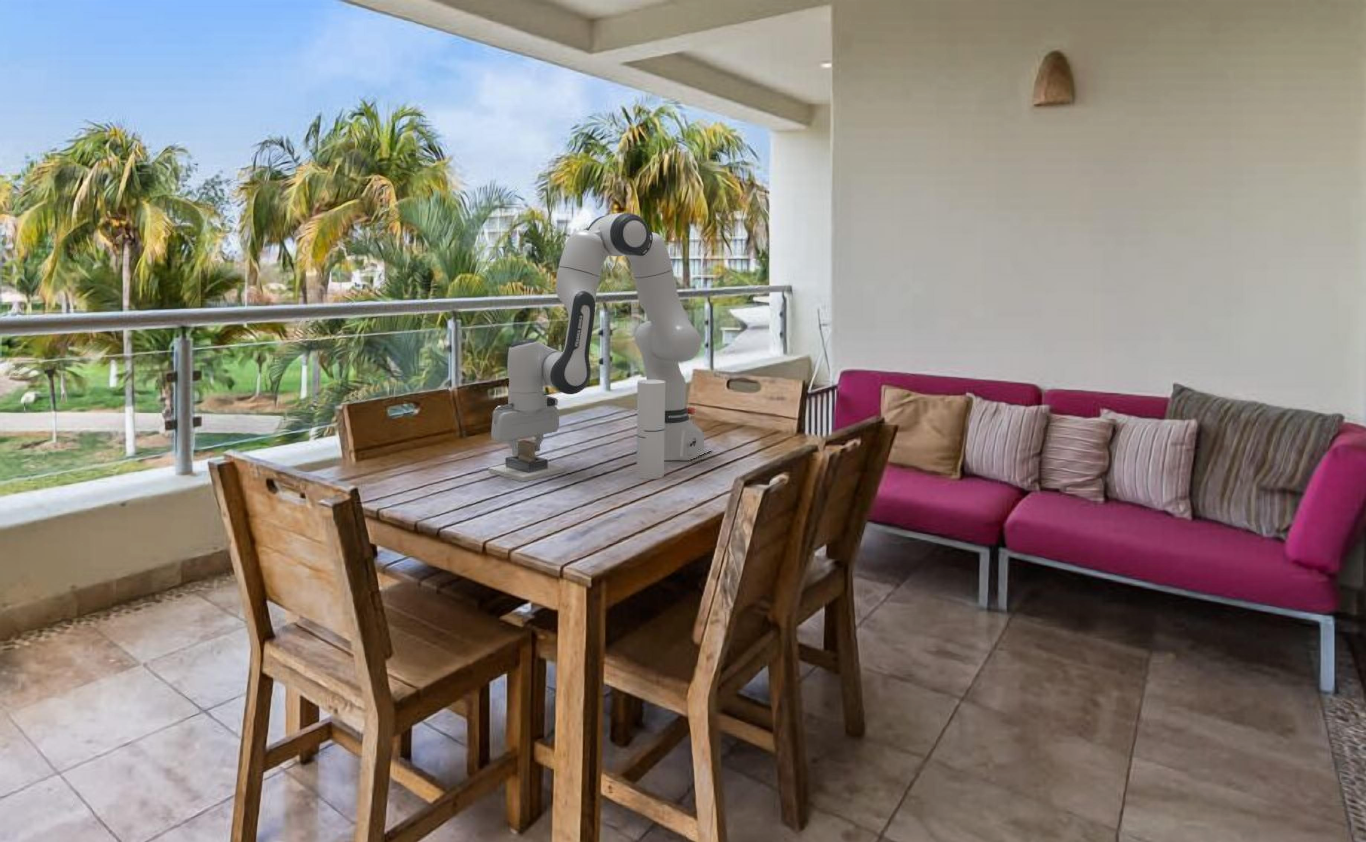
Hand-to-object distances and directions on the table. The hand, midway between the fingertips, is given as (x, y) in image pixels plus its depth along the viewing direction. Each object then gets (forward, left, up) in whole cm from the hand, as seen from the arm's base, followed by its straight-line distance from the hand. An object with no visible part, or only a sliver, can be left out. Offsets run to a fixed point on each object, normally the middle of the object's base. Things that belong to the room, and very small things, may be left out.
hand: (526, 453), depth 214 cm
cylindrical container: (-20, +26, -5) cm, 33 cm away
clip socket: (0, 0, -4) cm, 4 cm away
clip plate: (0, 0, -5) cm, 5 cm away
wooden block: (0, 0, -4) cm, 4 cm away
